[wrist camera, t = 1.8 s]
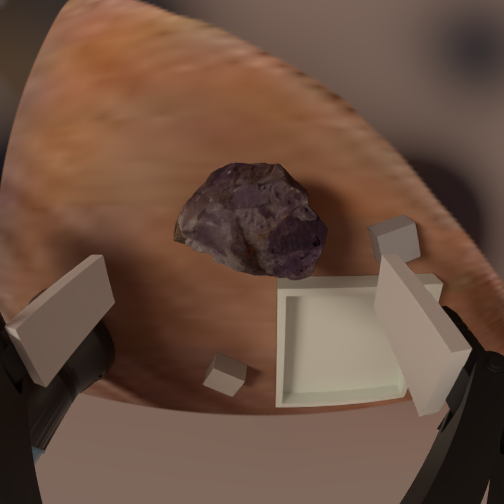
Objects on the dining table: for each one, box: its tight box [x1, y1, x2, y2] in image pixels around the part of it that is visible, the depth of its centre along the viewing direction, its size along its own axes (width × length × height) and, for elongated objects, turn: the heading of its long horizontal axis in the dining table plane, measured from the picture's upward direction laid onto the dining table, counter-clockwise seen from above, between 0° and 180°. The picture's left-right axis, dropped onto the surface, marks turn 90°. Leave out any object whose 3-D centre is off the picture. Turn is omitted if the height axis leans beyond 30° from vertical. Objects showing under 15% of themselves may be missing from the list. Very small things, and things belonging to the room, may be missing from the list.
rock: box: [174, 163, 328, 280], centre depth 23 cm, size 12×9×10 cm
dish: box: [276, 273, 443, 407], centre depth 31 cm, size 18×18×2 cm
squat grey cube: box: [368, 215, 421, 265], centre depth 26 cm, size 4×4×3 cm
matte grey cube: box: [203, 353, 247, 397], centre depth 33 cm, size 4×4×3 cm
